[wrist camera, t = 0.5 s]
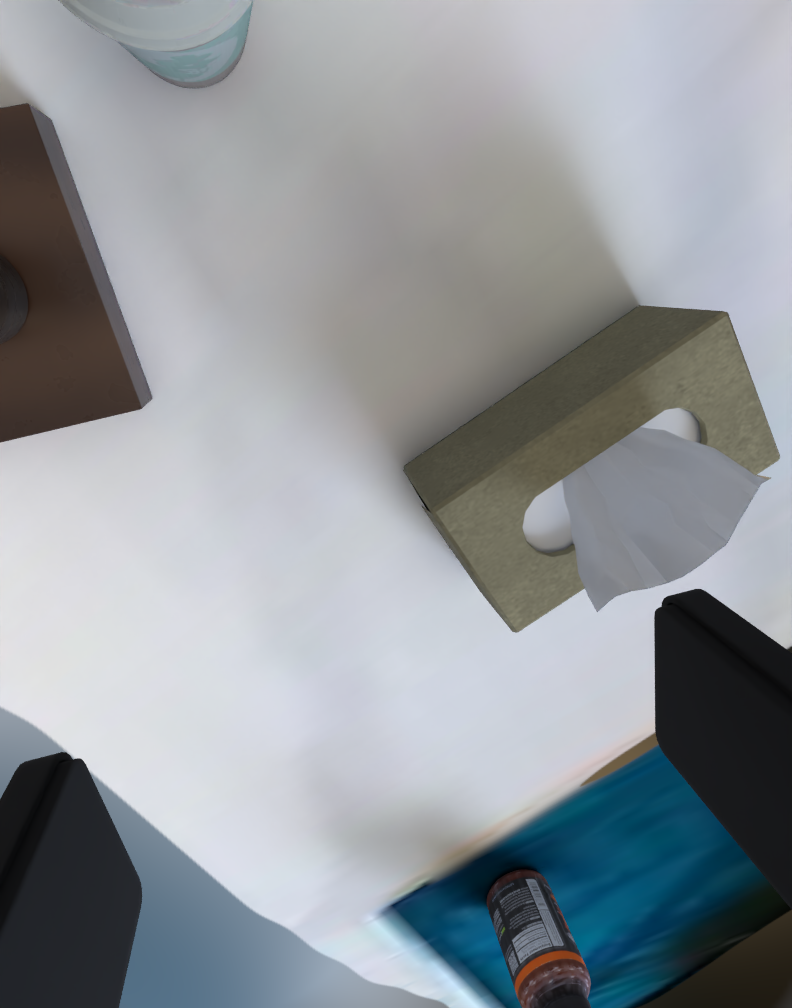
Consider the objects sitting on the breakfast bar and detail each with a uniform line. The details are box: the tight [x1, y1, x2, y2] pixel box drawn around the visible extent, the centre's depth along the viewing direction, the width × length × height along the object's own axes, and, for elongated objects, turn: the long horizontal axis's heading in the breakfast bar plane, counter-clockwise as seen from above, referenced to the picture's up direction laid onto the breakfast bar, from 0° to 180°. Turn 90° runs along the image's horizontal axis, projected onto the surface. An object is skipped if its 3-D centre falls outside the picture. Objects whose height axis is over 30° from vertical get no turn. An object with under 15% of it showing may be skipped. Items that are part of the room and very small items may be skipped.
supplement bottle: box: [487, 870, 591, 1008], centre depth 50 cm, size 6×6×11 cm
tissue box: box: [403, 305, 780, 632], centre depth 33 cm, size 19×10×16 cm, turn 124°
